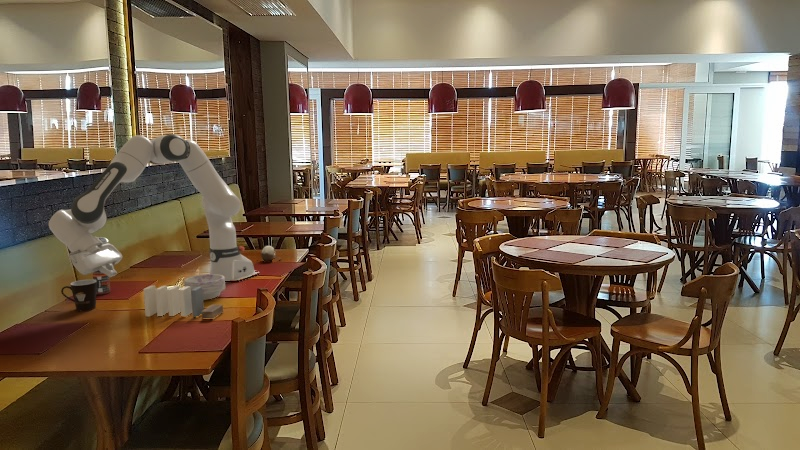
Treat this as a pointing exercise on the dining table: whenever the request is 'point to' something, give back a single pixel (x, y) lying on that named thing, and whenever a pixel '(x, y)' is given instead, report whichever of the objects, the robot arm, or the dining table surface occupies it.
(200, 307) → the domino
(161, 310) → the domino
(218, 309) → the end block
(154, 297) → the domino
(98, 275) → the supplement bottle
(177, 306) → the domino
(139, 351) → the dining table surface
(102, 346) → the dining table surface
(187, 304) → the domino
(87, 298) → the coffee mug
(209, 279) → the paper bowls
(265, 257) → the skull
